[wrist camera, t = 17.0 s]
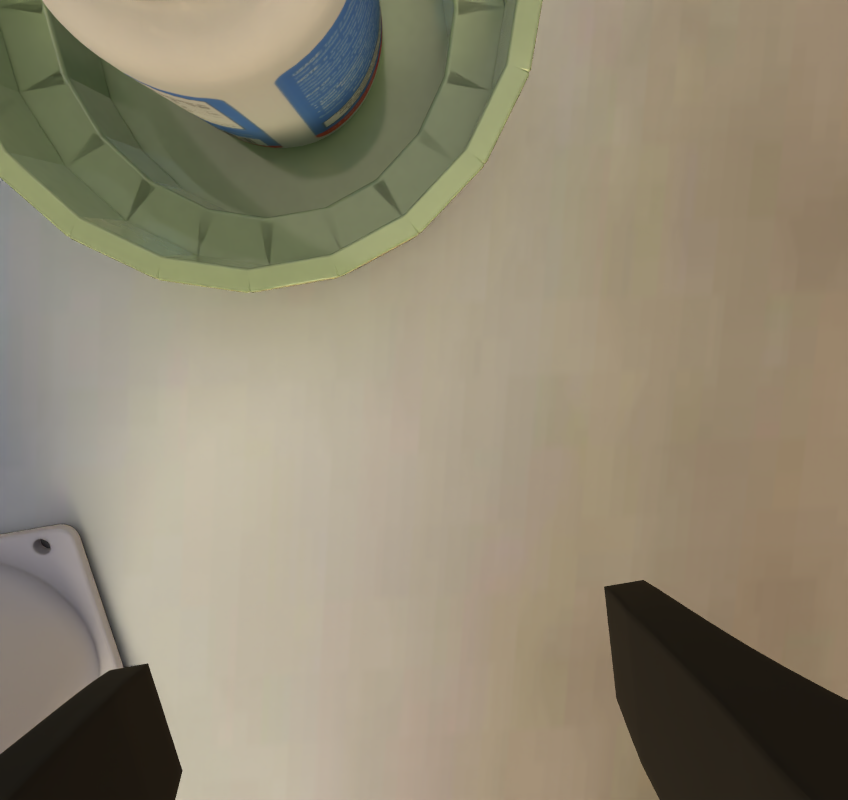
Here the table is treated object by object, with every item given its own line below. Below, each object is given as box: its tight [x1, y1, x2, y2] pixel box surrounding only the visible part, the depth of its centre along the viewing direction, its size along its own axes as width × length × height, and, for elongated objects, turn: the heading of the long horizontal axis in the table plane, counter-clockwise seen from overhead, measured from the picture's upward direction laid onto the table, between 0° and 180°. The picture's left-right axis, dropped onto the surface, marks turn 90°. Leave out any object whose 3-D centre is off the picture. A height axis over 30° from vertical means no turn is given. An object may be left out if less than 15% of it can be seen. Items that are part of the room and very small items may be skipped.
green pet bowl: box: [0, 0, 543, 293], centre depth 14 cm, size 12×12×5 cm
